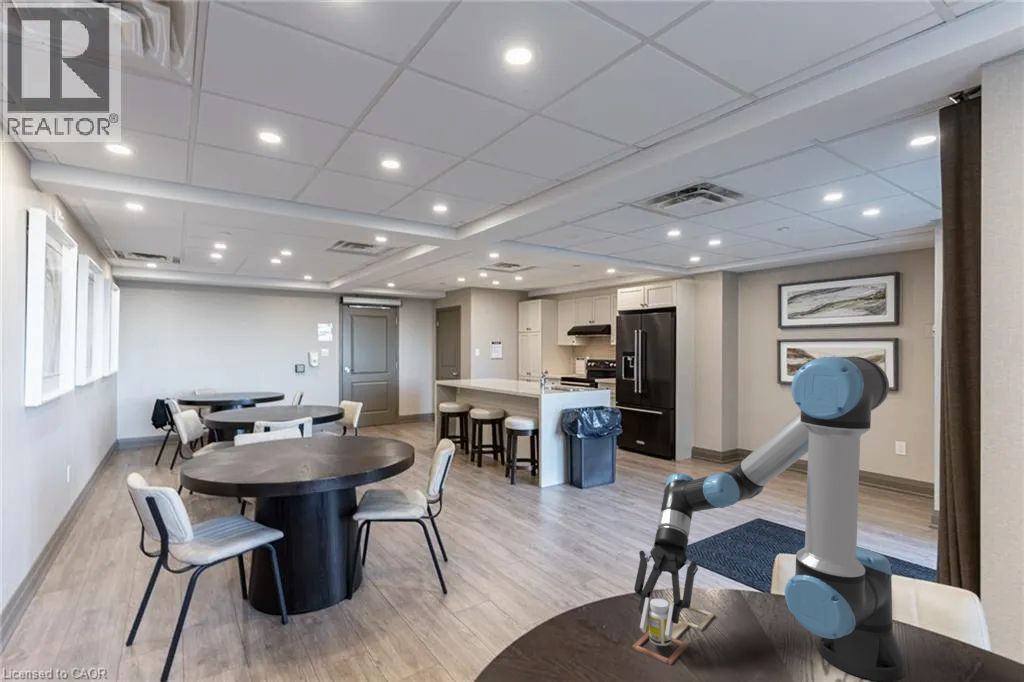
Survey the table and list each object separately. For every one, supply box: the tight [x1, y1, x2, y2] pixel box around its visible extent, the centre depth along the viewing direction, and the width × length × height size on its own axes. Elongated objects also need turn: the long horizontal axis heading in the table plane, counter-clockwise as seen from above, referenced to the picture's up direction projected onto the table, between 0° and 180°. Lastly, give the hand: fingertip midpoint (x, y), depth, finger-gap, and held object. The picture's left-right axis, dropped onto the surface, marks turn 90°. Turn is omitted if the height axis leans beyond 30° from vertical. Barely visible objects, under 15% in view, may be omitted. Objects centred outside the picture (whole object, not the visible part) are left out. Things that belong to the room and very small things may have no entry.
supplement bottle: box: [648, 597, 672, 647], centre depth 110 cm, size 5×5×8 cm
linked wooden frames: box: [631, 605, 716, 666], centre depth 116 cm, size 9×26×1 cm, turn 138°
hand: (655, 633), depth 107 cm, fingers closed on supplement bottle, 5 cm apart
